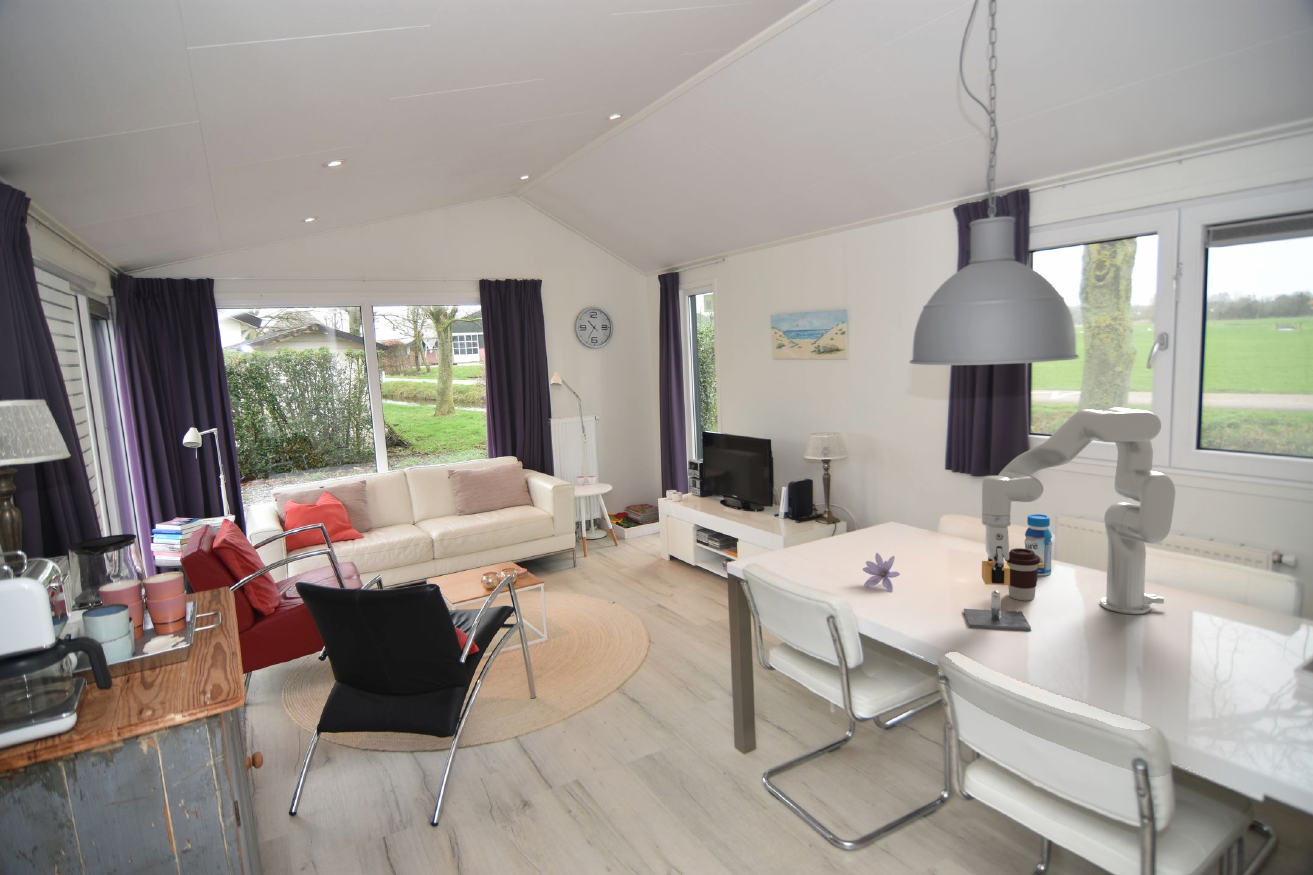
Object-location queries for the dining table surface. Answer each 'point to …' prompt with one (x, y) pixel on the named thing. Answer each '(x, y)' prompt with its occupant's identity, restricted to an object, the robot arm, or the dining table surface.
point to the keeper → (996, 617)
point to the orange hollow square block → (987, 573)
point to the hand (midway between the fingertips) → (995, 578)
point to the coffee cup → (1023, 573)
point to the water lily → (880, 572)
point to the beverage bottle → (1040, 541)
